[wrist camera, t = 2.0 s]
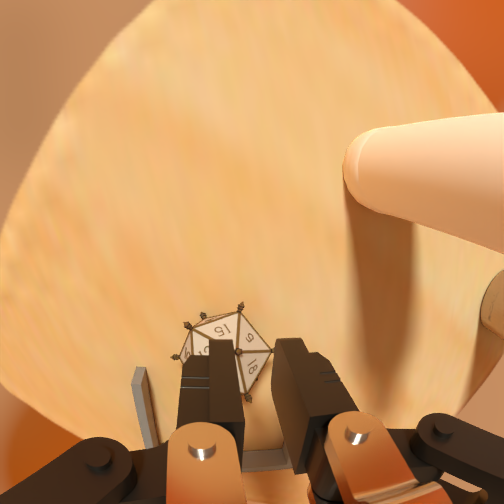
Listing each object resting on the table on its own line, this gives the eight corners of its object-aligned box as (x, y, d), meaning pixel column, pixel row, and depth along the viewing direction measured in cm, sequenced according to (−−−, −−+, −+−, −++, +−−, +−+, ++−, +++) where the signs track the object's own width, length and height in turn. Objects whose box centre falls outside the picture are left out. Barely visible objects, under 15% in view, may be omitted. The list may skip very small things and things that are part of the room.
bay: (305, 367, 32) (313, 383, 29) (288, 452, 36) (293, 468, 33) (136, 366, 30) (131, 383, 27) (153, 453, 34) (151, 470, 31)
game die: (237, 322, 34) (284, 399, 28) (164, 348, 31) (204, 435, 25) (245, 266, 28) (309, 358, 22) (152, 295, 24) (201, 407, 18)
